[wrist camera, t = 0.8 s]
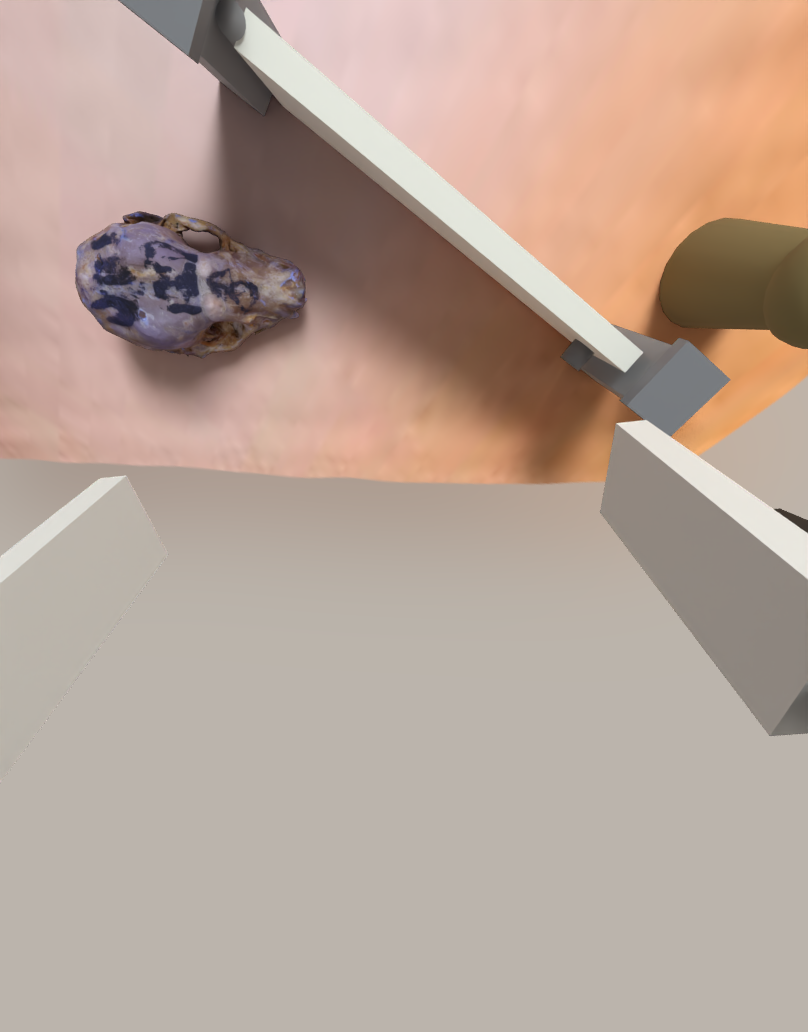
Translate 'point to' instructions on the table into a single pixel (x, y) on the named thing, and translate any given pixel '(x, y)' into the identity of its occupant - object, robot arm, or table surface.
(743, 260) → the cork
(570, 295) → the gate
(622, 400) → the post
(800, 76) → the table surface
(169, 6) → the hinge post
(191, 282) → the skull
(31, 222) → the table surface
